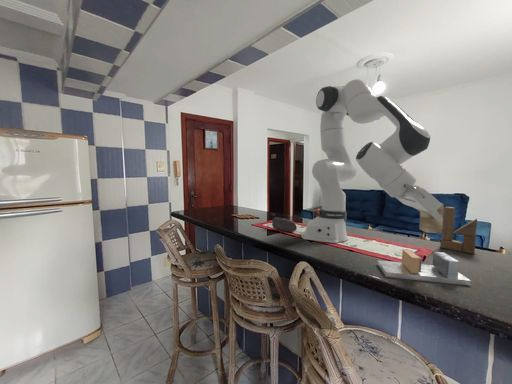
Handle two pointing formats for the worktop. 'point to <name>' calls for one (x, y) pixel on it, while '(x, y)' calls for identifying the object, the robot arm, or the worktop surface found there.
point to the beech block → (431, 221)
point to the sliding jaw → (411, 261)
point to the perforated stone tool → (283, 224)
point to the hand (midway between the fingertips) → (432, 216)
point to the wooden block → (466, 230)
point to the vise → (428, 270)
